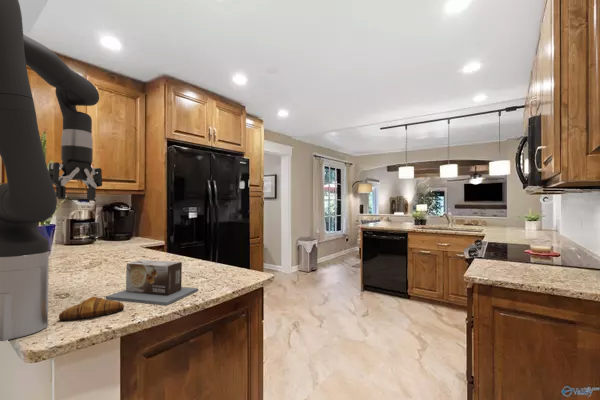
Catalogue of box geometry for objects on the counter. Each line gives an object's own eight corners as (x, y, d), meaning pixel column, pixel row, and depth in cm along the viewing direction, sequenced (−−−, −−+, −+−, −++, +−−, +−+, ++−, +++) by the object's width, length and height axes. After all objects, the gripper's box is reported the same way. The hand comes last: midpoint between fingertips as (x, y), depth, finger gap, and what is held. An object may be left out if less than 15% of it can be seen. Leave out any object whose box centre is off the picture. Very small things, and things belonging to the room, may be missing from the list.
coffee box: (141, 286, 95) (182, 290, 91) (125, 291, 89) (167, 296, 84) (142, 258, 95) (182, 262, 91) (125, 262, 89) (168, 266, 85)
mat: (166, 305, 79) (166, 302, 79) (105, 299, 85) (105, 296, 85) (198, 290, 92) (198, 288, 92) (143, 286, 98) (143, 283, 98)
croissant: (124, 307, 79) (124, 289, 79) (123, 315, 73) (123, 295, 73) (61, 317, 72) (62, 297, 72) (55, 326, 66) (55, 305, 66)
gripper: (60, 140, 79) (60, 198, 78) (108, 150, 93) (108, 199, 92) (41, 142, 81) (41, 199, 81) (91, 151, 95) (90, 200, 94)
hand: (76, 199), depth 86 cm, fingers open, 8 cm apart
